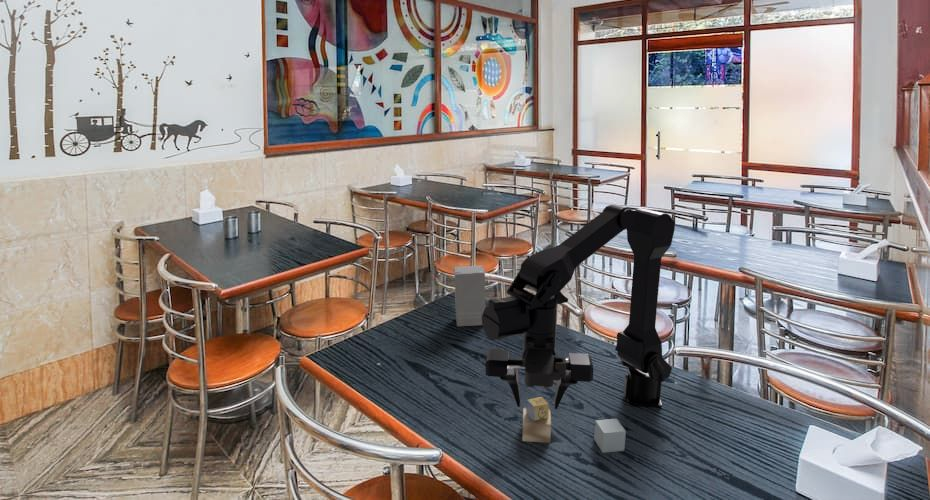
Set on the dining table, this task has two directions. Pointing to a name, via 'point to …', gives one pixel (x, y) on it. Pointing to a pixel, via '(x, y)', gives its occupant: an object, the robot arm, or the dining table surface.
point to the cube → (609, 435)
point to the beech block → (536, 429)
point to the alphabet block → (537, 408)
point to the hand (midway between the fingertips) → (537, 406)
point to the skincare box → (469, 295)
